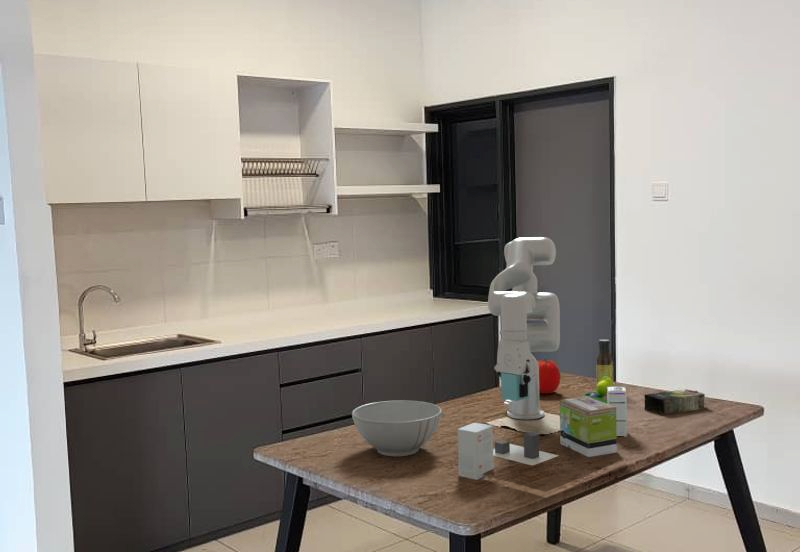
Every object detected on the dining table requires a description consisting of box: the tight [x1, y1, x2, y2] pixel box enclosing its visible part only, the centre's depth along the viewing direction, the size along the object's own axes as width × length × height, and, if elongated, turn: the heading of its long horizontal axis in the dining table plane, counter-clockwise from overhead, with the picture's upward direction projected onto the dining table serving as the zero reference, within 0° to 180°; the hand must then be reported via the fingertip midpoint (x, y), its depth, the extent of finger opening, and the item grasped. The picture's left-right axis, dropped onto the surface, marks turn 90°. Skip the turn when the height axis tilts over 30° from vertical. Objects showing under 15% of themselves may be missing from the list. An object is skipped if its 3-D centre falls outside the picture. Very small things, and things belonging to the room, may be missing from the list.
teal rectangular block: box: [500, 373, 529, 401], centre depth 252 cm, size 6×6×8 cm
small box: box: [456, 422, 495, 481], centre depth 226 cm, size 8×6×13 cm
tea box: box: [559, 396, 618, 458], centre depth 243 cm, size 15×10×15 cm, turn 22°
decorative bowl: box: [351, 399, 443, 457], centre depth 250 cm, size 27×27×12 cm
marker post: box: [523, 431, 540, 459], centre depth 237 cm, size 3×3×6 cm
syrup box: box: [607, 386, 628, 438], centre depth 261 cm, size 6×6×14 cm
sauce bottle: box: [595, 339, 615, 392], centre depth 318 cm, size 6×6×20 cm
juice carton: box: [644, 388, 706, 415], centre depth 290 cm, size 20×10×6 cm, turn 116°
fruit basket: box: [582, 376, 612, 403], centre depth 292 cm, size 11×9×11 cm
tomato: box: [537, 358, 561, 395], centre depth 319 cm, size 12×12×13 cm
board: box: [493, 439, 560, 466], centre depth 240 cm, size 18×12×4 cm, turn 43°
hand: (515, 394), depth 252 cm, fingers closed on teal rectangular block, 5 cm apart
